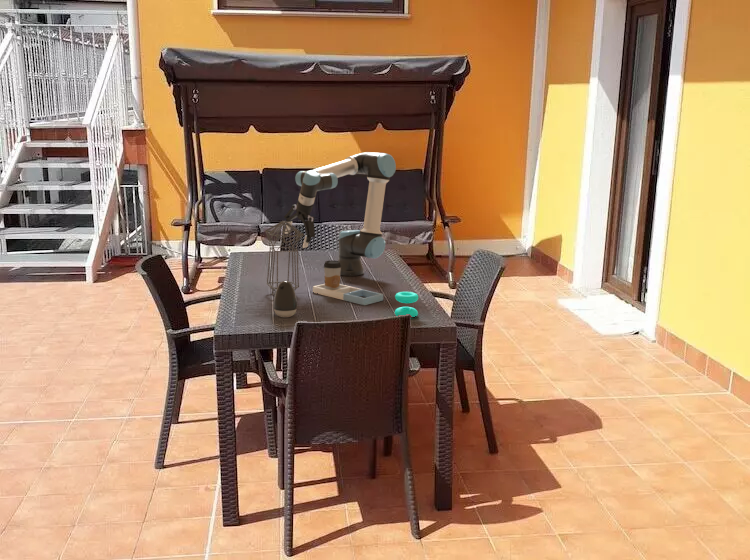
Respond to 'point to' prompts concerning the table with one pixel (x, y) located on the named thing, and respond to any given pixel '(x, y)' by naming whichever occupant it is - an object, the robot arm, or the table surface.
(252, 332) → the table surface
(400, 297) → the donuts
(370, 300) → the gap frame
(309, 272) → the table surface
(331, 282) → the coffee cup
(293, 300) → the pump dispenser
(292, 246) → the geometric lantern
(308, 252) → the table surface
